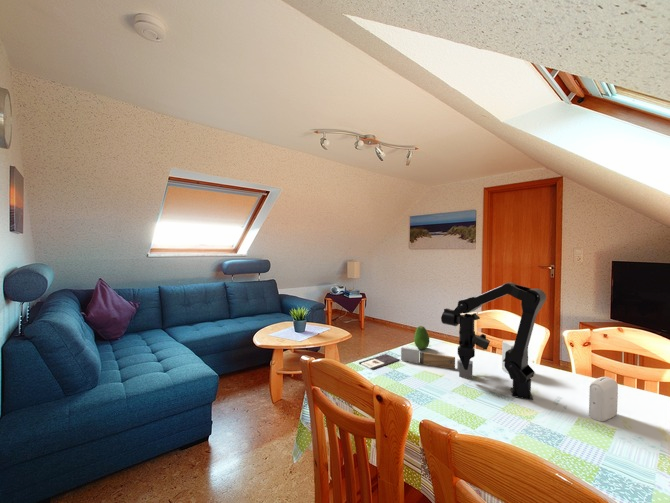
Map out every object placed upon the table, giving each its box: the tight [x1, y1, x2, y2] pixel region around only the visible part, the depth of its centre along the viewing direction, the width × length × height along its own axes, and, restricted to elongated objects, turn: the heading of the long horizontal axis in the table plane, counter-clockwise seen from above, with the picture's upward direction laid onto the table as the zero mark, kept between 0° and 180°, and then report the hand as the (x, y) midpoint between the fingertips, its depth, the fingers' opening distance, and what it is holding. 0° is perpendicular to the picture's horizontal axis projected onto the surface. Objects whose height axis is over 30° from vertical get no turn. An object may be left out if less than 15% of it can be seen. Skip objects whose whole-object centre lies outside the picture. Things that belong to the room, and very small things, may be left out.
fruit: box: [413, 325, 430, 350], centre depth 161 cm, size 8×8×12 cm
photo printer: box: [588, 376, 619, 422], centre depth 99 cm, size 10×4×12 cm, turn 116°
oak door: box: [419, 350, 456, 370], centre depth 139 cm, size 2×15×5 cm, turn 66°
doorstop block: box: [458, 359, 474, 380], centre depth 128 cm, size 4×5×6 cm
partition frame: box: [400, 346, 460, 371], centre depth 140 cm, size 2×26×6 cm, turn 66°
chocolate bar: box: [358, 353, 401, 371], centre depth 143 cm, size 9×1×18 cm
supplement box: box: [501, 340, 529, 375], centre depth 132 cm, size 7×7×13 cm
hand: (466, 365), depth 128 cm, fingers open, 9 cm apart
